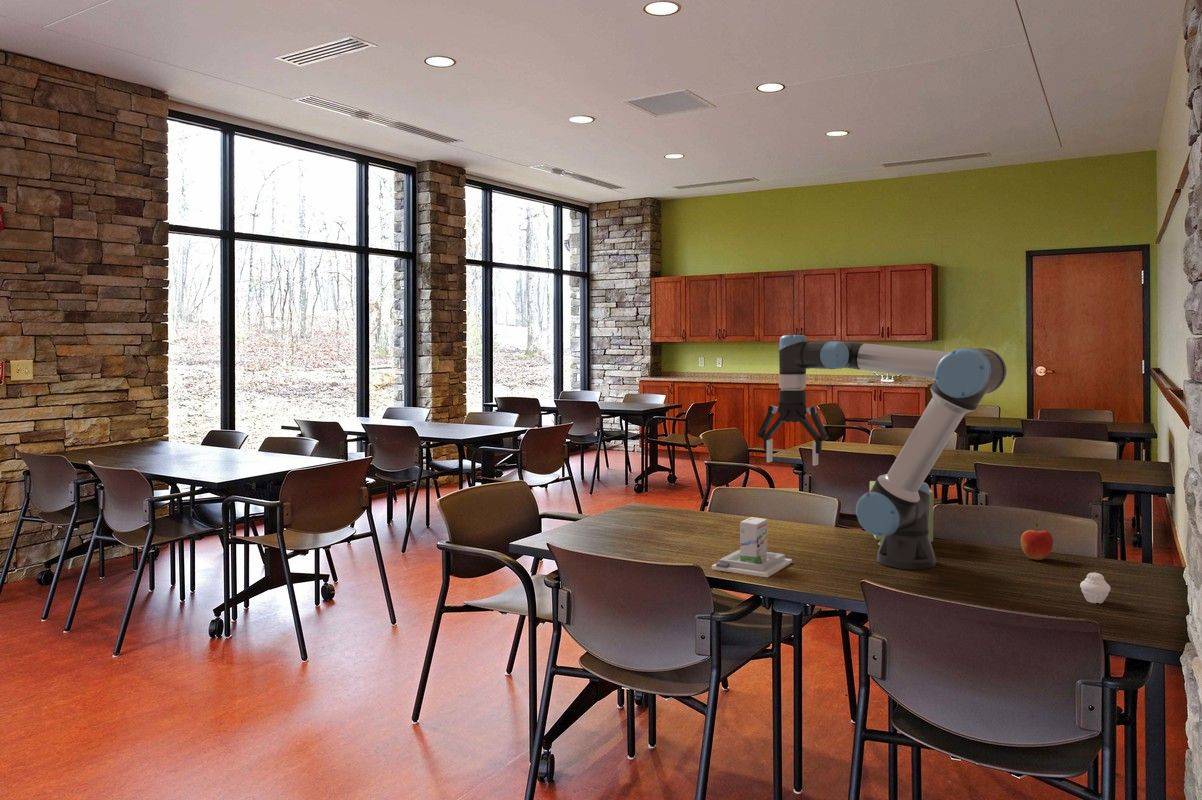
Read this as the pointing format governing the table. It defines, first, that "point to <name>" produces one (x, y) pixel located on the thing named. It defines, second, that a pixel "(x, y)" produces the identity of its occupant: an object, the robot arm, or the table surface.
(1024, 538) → the apple
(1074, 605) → the table surface
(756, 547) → the ink box
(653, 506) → the table surface
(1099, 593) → the muffin
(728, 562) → the white square tray
